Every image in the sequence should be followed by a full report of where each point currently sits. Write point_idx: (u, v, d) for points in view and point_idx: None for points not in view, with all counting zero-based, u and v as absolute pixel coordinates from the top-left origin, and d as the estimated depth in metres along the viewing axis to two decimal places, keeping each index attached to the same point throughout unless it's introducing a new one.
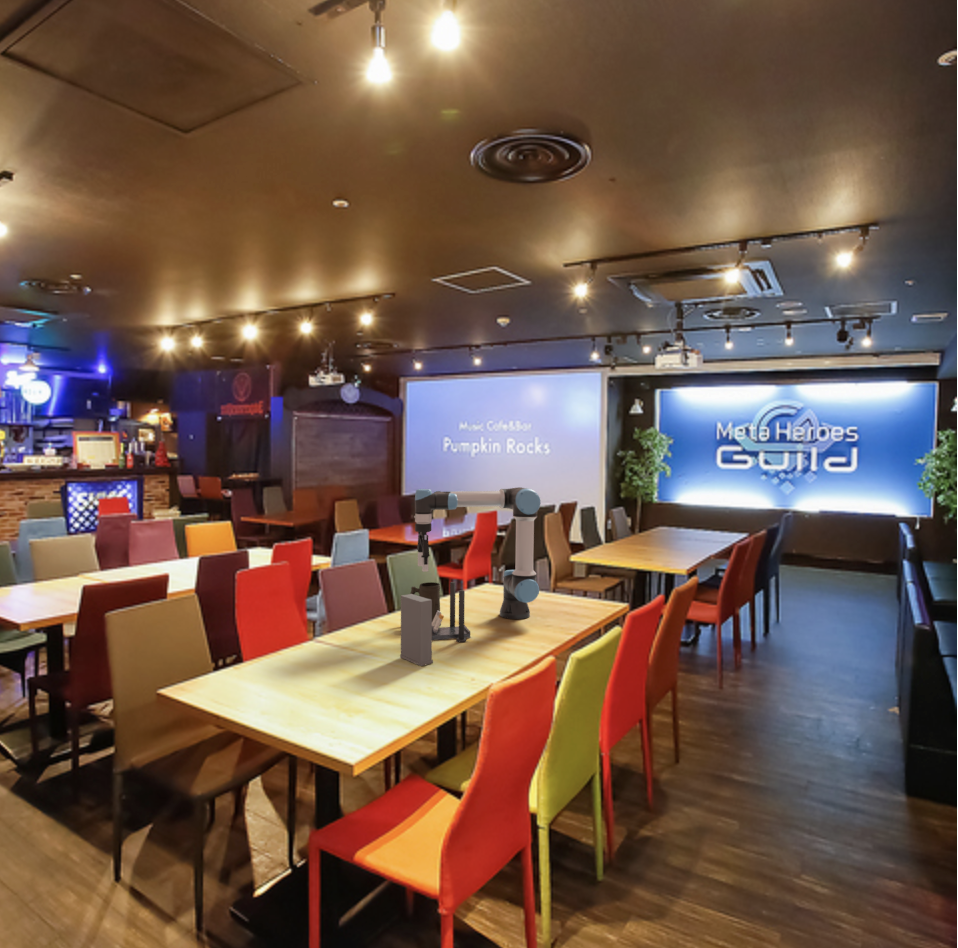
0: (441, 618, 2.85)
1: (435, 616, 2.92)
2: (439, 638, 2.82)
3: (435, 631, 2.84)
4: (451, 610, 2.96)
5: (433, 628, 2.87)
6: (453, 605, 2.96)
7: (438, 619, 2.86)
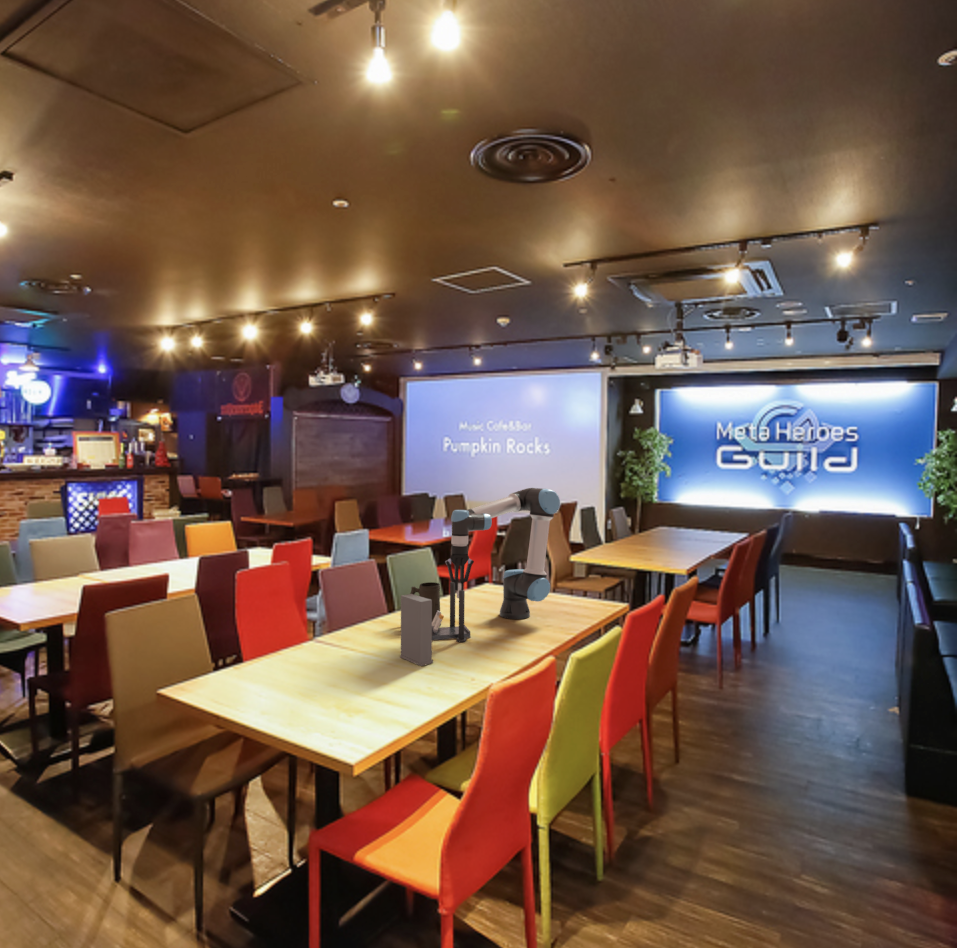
0: (441, 618, 2.85)
1: (435, 616, 2.92)
2: (439, 638, 2.82)
3: (435, 631, 2.84)
4: (451, 610, 2.96)
5: (433, 628, 2.87)
6: (453, 605, 2.96)
7: (438, 619, 2.86)
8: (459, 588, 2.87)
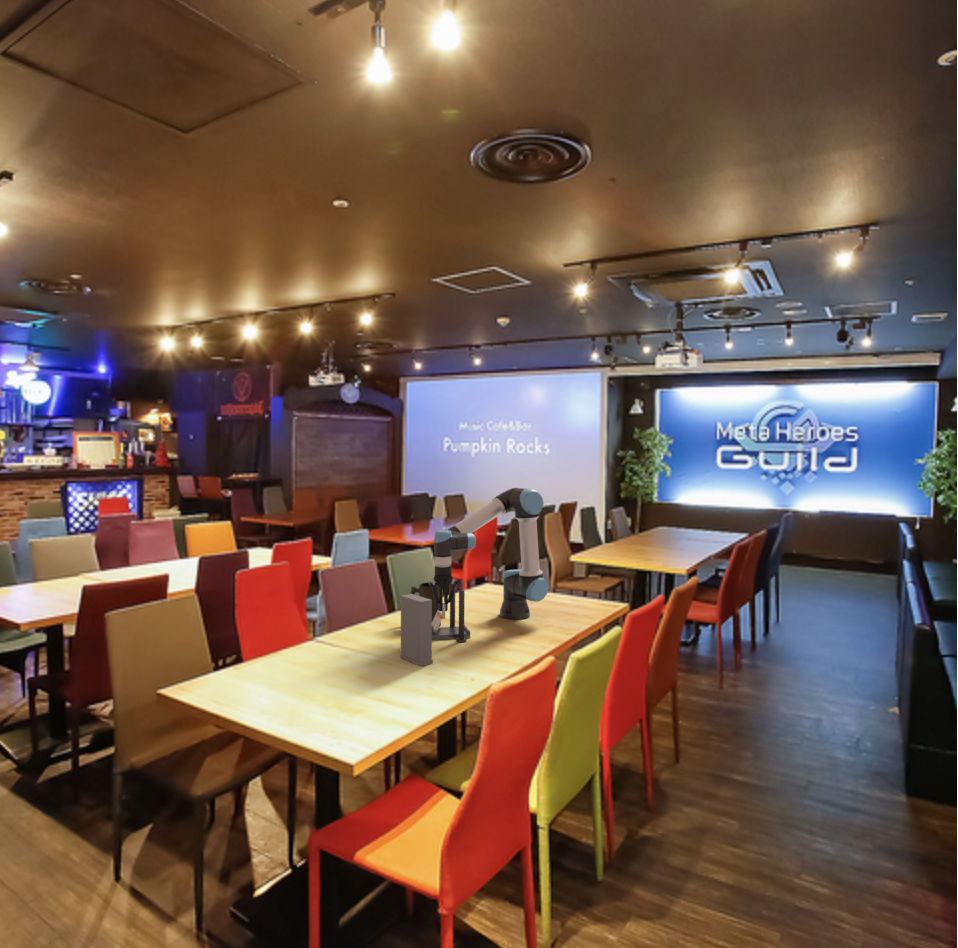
0: (440, 618, 2.85)
1: (435, 616, 2.92)
2: (439, 638, 2.82)
3: (435, 631, 2.84)
4: (451, 610, 2.96)
5: (433, 628, 2.87)
6: (453, 605, 2.96)
7: (437, 619, 2.86)
8: (443, 609, 2.85)
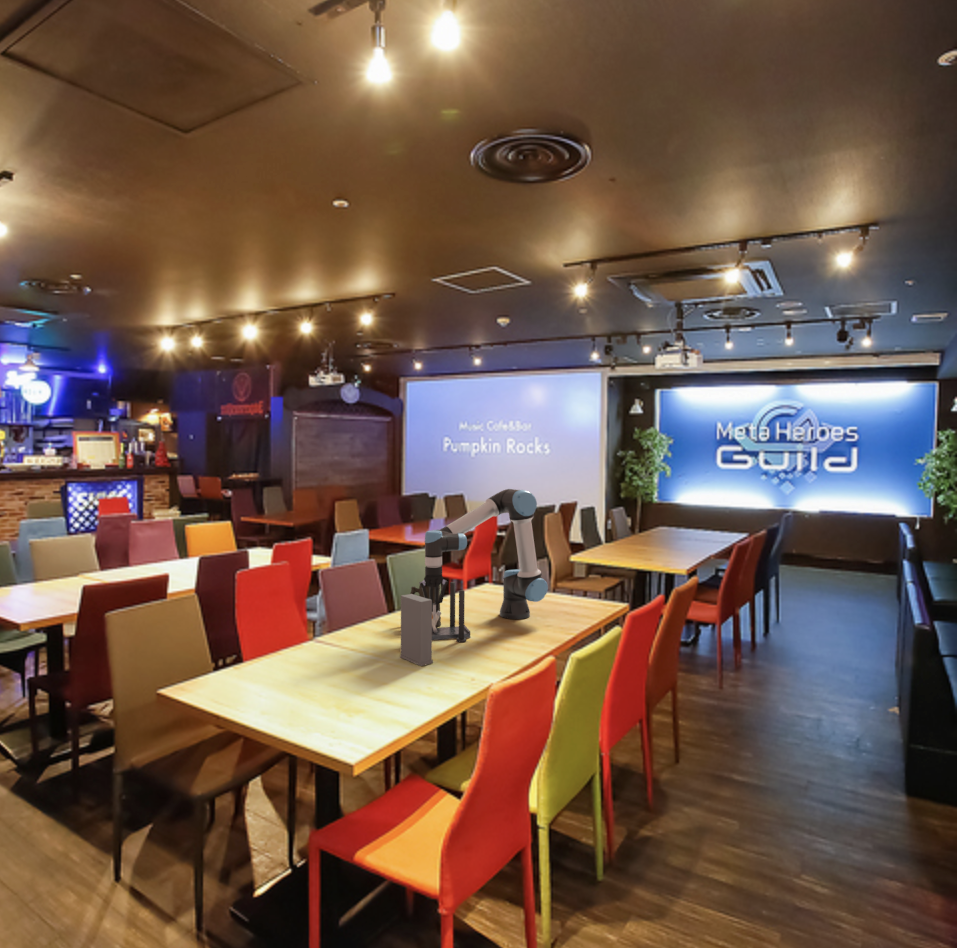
0: None
1: None
2: (439, 638, 2.82)
3: (435, 631, 2.84)
4: (451, 610, 2.96)
5: None
6: (453, 605, 2.96)
7: None
8: (434, 610, 2.84)
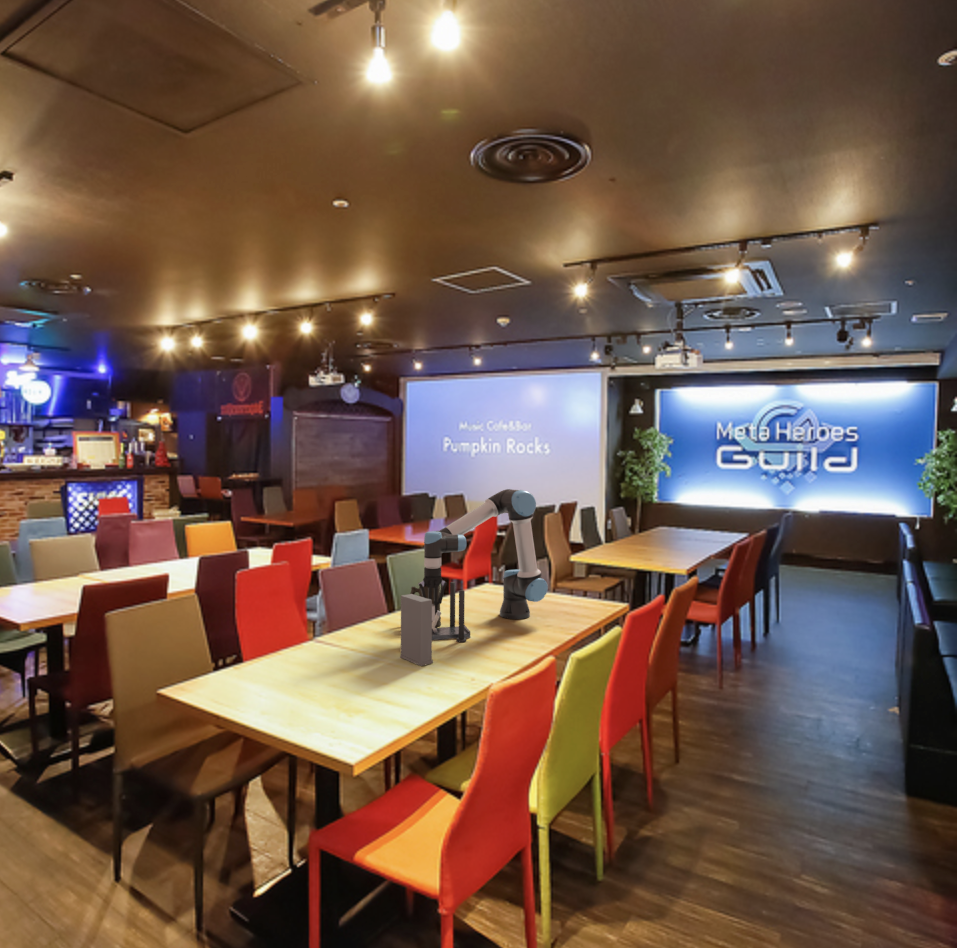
0: None
1: (435, 616, 2.92)
2: (439, 638, 2.82)
3: (435, 631, 2.84)
4: (451, 610, 2.96)
5: None
6: (453, 605, 2.96)
7: None
8: (433, 610, 2.84)
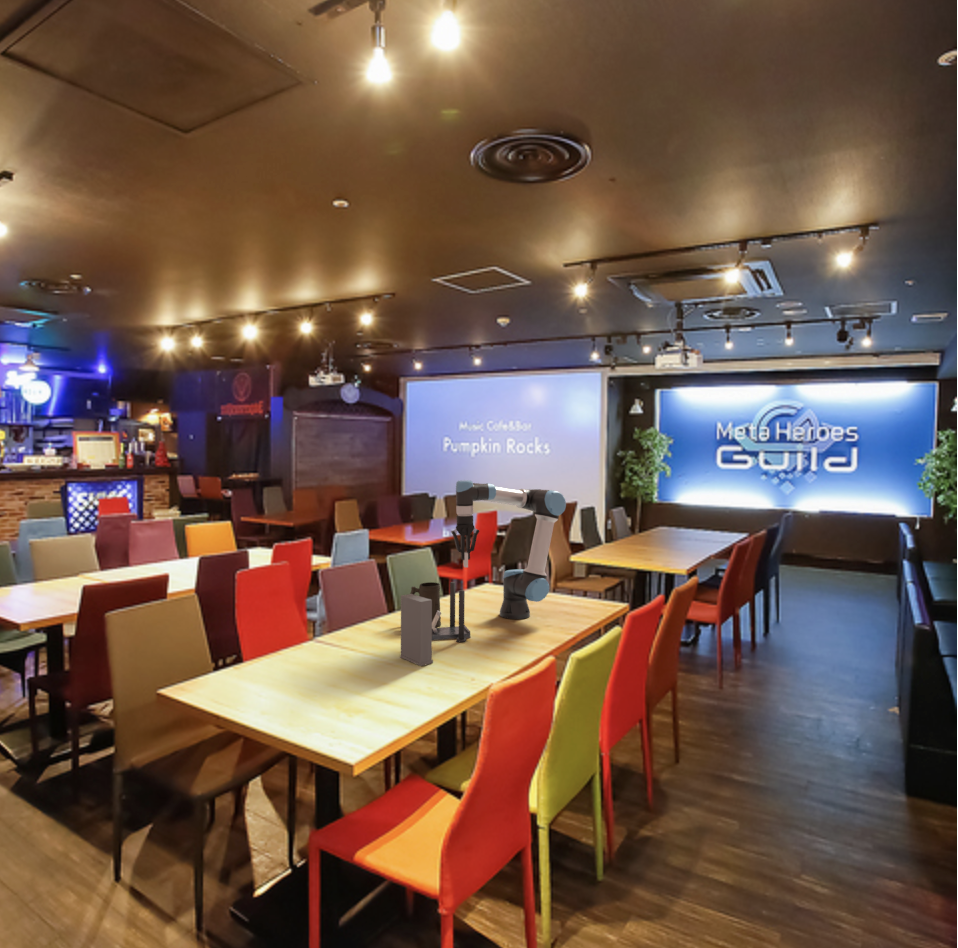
0: None
1: (435, 616, 2.92)
2: (439, 638, 2.82)
3: (435, 631, 2.84)
4: (451, 610, 2.96)
5: None
6: (453, 605, 2.96)
7: None
8: (466, 557, 2.90)
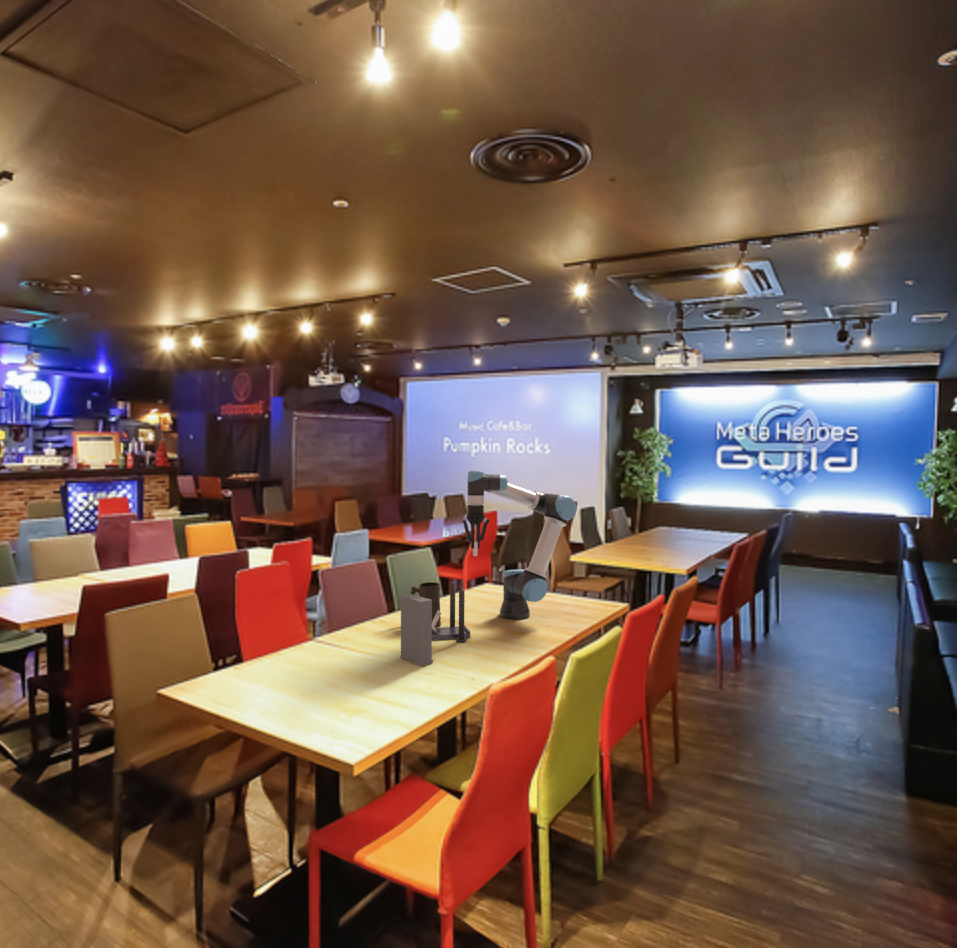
0: None
1: (435, 616, 2.92)
2: (439, 638, 2.82)
3: (435, 631, 2.84)
4: (451, 610, 2.96)
5: None
6: (453, 605, 2.96)
7: None
8: (475, 546, 2.96)
